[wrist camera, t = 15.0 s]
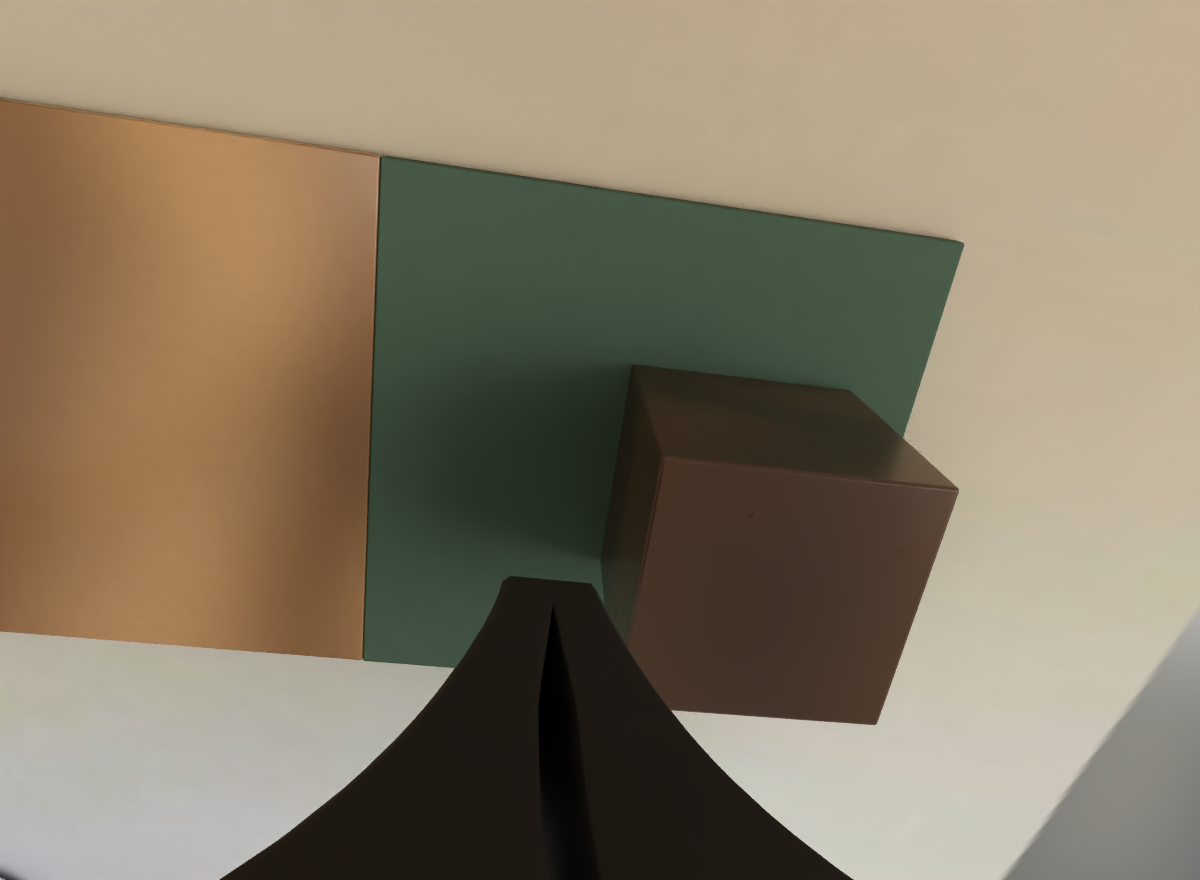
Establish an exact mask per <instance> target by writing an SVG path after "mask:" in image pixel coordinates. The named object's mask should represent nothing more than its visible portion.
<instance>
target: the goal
mask: <svg viewBox="0 0 1200 880" xmlns="http://www.w3.org/2000/svg"><path fill="white" fill-rule="evenodd" d="M963 247H964V243H962V242H959V241H955V240H949V239H942V238H935V237H929V236H922V235H915V234H908V233H902V232H895V231H888V230H881V229H875V228H868V227H861V226H855V225H848V224H841V223H834V222H828V221H821V220H814V219H807V218H801V217H794V216H787V215H780V214H774V213H767V212H760V211H753V210H747V209H740V208H733V207H727V206H720V205H713V204H706V203H700V202H693V201H686V200H679V199H673V198H666V197H659V196H652V195H646V194H639V193H632V192H626V191H619V190H612V189H605V188H599V187H592V186H585V185H578V184H572V183H565V182H558V181H551V180H545V179H538V178H531V177H525V176H518V175H511V174H504V173H498V172H491V171H484V170H477V169H471V168H464V167H457V166H450V165H444V164H437V163H430V162H424V161H417V160H410V159H403V158H397V157H390V156H385V157H382V158H381V168H380V196H379V224H378V253H377V281H376V309H375V337H374V365H373V393H372V422H371V450H370V478H369V506H368V534H367V562H366V591H365V619H364V647H363V660H364V661H374V662H387V663H399V664H412V665H425V666H437V667H450V668H456V666H457V665H458V664H459V662H460V661H461V660H462V658H463V657H464V655H465V654H466V652H467V650H468V649H469V647H470V646H471V644H472V642H473V641H474V639H475V638H476V636H477V635H478V633H479V631H480V630H481V628H482V626H483V625H484V623H485V621H486V619H487V617H488V615H489V614H490V612H491V610H492V608H493V606H494V604H495V601H496V599H497V596H498V594H499V591H500V588H501V583H502V581H504V580H505V579H506V578H508V577H509V576H518V577H529V578H540V579H551V580H561V581H572V582H583V583H591V584H592V585H593V586H594V588H595V589H596V590H597V592H598V594H599V596H600V598H601V600H602V602H603V604H604V606H605V602H604V592H603V583H602V573H601V564H600V558H601V552H602V546H603V540H604V534H605V528H606V522H607V515H608V509H609V503H610V497H611V491H612V485H613V479H614V473H615V466H616V460H617V454H618V448H619V442H620V436H621V430H622V424H623V418H624V411H625V405H626V399H627V393H628V387H629V381H630V375H631V369H632V366H633V365H642V366H651V367H659V368H667V369H676V370H684V371H692V372H700V373H709V374H717V375H725V376H734V377H742V378H750V379H758V380H767V381H775V382H783V383H792V384H800V385H808V386H816V387H825V388H833V389H841V390H850V391H852V392H853V393H854V394H855V395H856V396H857V397H859V398H860V399H861V400H862V401H863V402H864V403H865V404H866V405H867V406H868V407H870V408H871V409H872V410H873V411H874V412H875V413H876V414H877V415H878V416H879V417H880V418H882V419H883V420H884V421H885V422H886V423H887V424H888V425H889V426H890V427H891V428H893V429H894V430H895V431H896V432H897V433H898V434H899V435H900V436H901V437H902V438H903V436H904V433H905V430H906V427H907V423H908V420H909V417H910V414H911V411H912V408H913V404H914V401H915V398H916V395H917V392H918V389H919V386H920V382H921V379H922V376H923V373H924V370H925V367H926V364H927V360H928V357H929V354H930V351H931V348H932V345H933V341H934V338H935V335H936V332H937V329H938V326H939V323H940V319H941V316H942V313H943V310H944V307H945V304H946V301H947V297H948V294H949V291H950V288H951V285H952V282H953V278H954V275H955V272H956V269H957V266H958V263H959V260H960V256H961V253H962V250H963Z"/></svg>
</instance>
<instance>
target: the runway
mask: <svg viewBox="0 0 1200 880" xmlns="http://www.w3.org/2000/svg"><path fill="white" fill-rule="evenodd" d="M382 157H383V155H381V154H375V153H368V152H361V151H354V150H348V149H341V148H334V147H327V146H321V145H314V144H307V143H301V142H294V141H287V140H280V139H274V138H267V137H260V136H253V135H247V134H240V133H233V132H227V131H220V130H213V129H206V128H200V127H193V126H186V125H179V124H173V123H166V122H159V121H152V120H146V119H139V118H132V117H126V116H119V115H112V114H105V113H99V112H92V111H85V110H78V109H72V108H65V107H58V106H52V105H45V104H38V103H31V102H25V101H18V100H11V99H4V98H0V631H3V632H16V633H28V634H41V635H53V636H66V637H79V638H91V639H104V640H116V641H129V642H141V643H154V644H166V645H179V646H192V647H204V648H217V649H229V650H242V651H254V652H267V653H279V654H292V655H305V656H317V657H330V658H342V659H355V660H362V658H363V647H364V619H365V591H366V562H367V534H368V506H369V478H370V450H371V422H372V393H373V365H374V337H375V309H376V281H377V253H378V224H379V196H380V168H381V158H382Z"/></svg>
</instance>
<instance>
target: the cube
mask: <svg viewBox="0 0 1200 880" xmlns="http://www.w3.org/2000/svg"><path fill="white" fill-rule="evenodd" d="M958 493H959V489H958V488H957V487H956V486H955V485H954V484H953V483H952V482H951V481H950V480H948V479H947V478H946V477H945V476H944V475H943V474H942V473H941V472H940V471H939V470H937V469H936V468H935V467H934V466H933V465H932V464H931V463H930V462H929V461H928V460H927V459H925V458H924V457H923V456H922V455H921V454H920V453H919V452H918V451H917V450H916V449H914V448H913V447H912V446H911V445H910V444H909V443H908V442H907V441H906V440H905V439H904V438H902V437H901V436H900V435H899V434H898V433H897V432H896V431H895V430H894V429H893V428H891V427H890V426H889V425H888V424H887V423H886V422H885V421H884V420H883V419H882V418H880V417H879V416H878V415H877V414H876V413H875V412H874V411H873V410H872V409H871V408H870V407H868V406H867V405H866V404H865V403H864V402H863V401H862V400H861V399H860V398H859V397H857V396H856V395H855V394H854V393H853V392H852V391H850V390H841V389H833V388H825V387H816V386H808V385H800V384H792V383H783V382H775V381H767V380H758V379H750V378H742V377H734V376H725V375H717V374H709V373H700V372H692V371H684V370H676V369H667V368H659V367H651V366H642V365H633V366H632V369H631V375H630V381H629V387H628V393H627V399H626V405H625V411H624V418H623V424H622V430H621V436H620V442H619V448H618V454H617V460H616V466H615V473H614V479H613V485H612V491H611V497H610V503H609V509H608V515H607V522H606V528H605V534H604V540H603V546H602V552H601V558H600V564H601V573H602V583H603V592H604V602H605V608H606V610H607V612H608V614H609V616H610V618H611V620H612V622H613V623H614V625H615V627H616V629H617V630H618V632H619V634H620V636H621V637H622V639H623V641H624V642H625V644H626V646H627V647H628V649H629V651H630V652H631V654H632V655H633V657H634V658H635V660H636V661H637V663H638V664H639V666H640V668H641V669H642V671H643V672H644V674H645V675H646V677H647V678H648V680H649V681H650V683H651V684H652V685H653V687H654V688H655V690H656V691H657V693H658V694H659V695H660V697H661V698H662V699H663V701H664V702H665V703H666V705H667V706H668V707H669V709H670V710H675V711H688V712H702V713H716V714H730V715H743V716H757V717H771V718H784V719H798V720H812V721H825V722H839V723H853V724H867V725H876V724H877V722H878V719H879V716H880V713H881V711H882V708H883V705H884V702H885V699H886V696H887V694H888V691H889V688H890V685H891V682H892V679H893V677H894V674H895V671H896V668H897V665H898V662H899V660H900V657H901V654H902V651H903V648H904V645H905V643H906V640H907V637H908V634H909V631H910V628H911V626H912V623H913V620H914V617H915V614H916V612H917V609H918V606H919V603H920V600H921V597H922V595H923V592H924V589H925V586H926V583H927V580H928V578H929V575H930V572H931V569H932V566H933V563H934V561H935V558H936V555H937V552H938V549H939V546H940V544H941V541H942V538H943V535H944V532H945V529H946V527H947V524H948V521H949V518H950V515H951V512H952V510H953V507H954V504H955V501H956V498H957V495H958Z"/></svg>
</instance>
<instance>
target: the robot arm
mask: <svg viewBox="0 0 1200 880" xmlns="http://www.w3.org/2000/svg"><path fill="white" fill-rule="evenodd" d="M0 880H5V879H3V878H0ZM220 880H853V879H852V878H850V877H849V876H847V875H846V874H844V873H843V872H842V871H840V870H839V869H838V868H836V867H835V866H833V865H832V864H831V863H830V862H828V861H827V860H826V859H824V858H823V857H822V856H821V855H819V854H818V853H817V852H815V851H814V850H813V849H812V848H810V847H809V846H808V845H806V844H805V843H804V842H803V841H801V840H800V839H799V838H798V837H796V836H795V835H794V834H793V833H791V832H790V831H789V830H788V829H787V828H785V827H784V826H783V825H782V824H781V823H779V822H778V821H777V820H776V819H775V818H774V817H772V816H771V815H770V814H769V813H768V812H767V811H765V810H764V809H763V808H762V807H761V806H760V805H759V804H758V803H757V802H756V801H755V800H754V799H752V798H751V797H750V796H749V795H748V794H747V793H746V792H745V791H744V790H743V789H742V788H741V787H740V786H738V785H737V784H736V783H735V782H734V781H733V780H732V779H731V778H730V777H729V776H728V775H727V774H726V773H725V772H724V771H723V770H722V769H721V768H720V767H719V766H718V765H717V764H716V763H715V762H714V761H713V760H712V759H711V757H710V756H709V755H708V754H707V753H706V752H705V751H704V750H703V749H702V747H701V746H700V745H699V744H698V743H697V742H696V741H695V740H694V739H693V737H692V736H691V735H690V734H689V733H688V731H687V730H686V729H685V728H684V727H683V725H682V724H681V723H680V722H679V720H678V719H677V718H676V717H675V715H674V714H673V713H672V711H671V710H670V709H669V707H668V706H667V705H666V703H665V702H664V701H663V699H662V698H661V697H660V695H659V694H658V693H657V691H656V690H655V688H654V687H653V685H652V684H651V683H650V681H649V680H648V678H647V677H646V675H645V674H644V672H643V671H642V669H641V668H640V666H639V664H638V663H637V661H636V660H635V658H634V657H633V655H632V654H631V652H630V651H629V649H628V647H627V646H626V644H625V642H624V641H623V639H622V637H621V636H620V634H619V632H618V630H617V629H616V627H615V625H614V623H613V622H612V620H611V618H610V616H609V614H608V612H607V610H606V608H605V606H604V604H603V602H602V600H601V598H600V596H599V594H598V592H597V590H596V589H595V588H594V586H593V585H592V584H591V583H583V582H572V581H561V580H551V579H540V578H529V577H518V576H509V577H508V578H506V579H505V580H504V581H502V583H501V588H500V591H499V594H498V596H497V599H496V601H495V604H494V606H493V608H492V610H491V612H490V614H489V615H488V617H487V619H486V621H485V623H484V625H483V626H482V628H481V630H480V631H479V633H478V635H477V636H476V638H475V639H474V641H473V642H472V644H471V646H470V647H469V649H468V650H467V652H466V654H465V655H464V657H463V658H462V660H461V661H460V662H459V664H458V665H457V666H456V668H455V669H454V670H453V672H452V673H451V674H450V676H449V677H448V678H447V680H446V681H445V682H444V684H443V685H442V686H441V688H440V689H439V690H438V692H437V693H436V694H435V696H434V697H433V698H432V699H431V700H430V702H429V703H428V704H427V705H426V706H425V708H424V709H423V710H422V711H421V712H420V713H419V714H418V716H417V717H416V718H415V719H414V720H413V721H412V722H411V723H410V724H409V726H408V727H407V728H406V729H405V730H404V731H403V732H402V733H401V734H400V735H399V736H398V737H397V738H396V739H395V741H394V742H393V743H391V744H390V745H389V746H388V747H387V748H386V749H385V750H384V751H383V752H382V753H381V754H380V755H379V756H378V757H377V758H376V759H375V760H374V761H373V762H372V763H371V764H370V765H369V766H368V767H367V768H366V769H365V770H364V771H362V772H361V773H360V774H359V775H358V776H357V777H356V778H355V779H354V780H353V781H351V782H350V783H349V784H348V785H347V786H346V787H345V788H343V789H342V790H341V791H340V792H339V793H337V794H336V795H335V796H334V797H332V798H331V799H330V800H329V801H327V802H326V803H325V804H324V805H322V806H321V807H320V808H318V809H317V810H316V811H315V812H313V813H312V814H311V815H310V816H308V817H307V818H306V819H305V820H303V821H302V822H301V823H300V824H298V825H297V826H296V827H295V828H293V829H292V830H291V831H290V832H288V833H287V834H286V835H284V836H283V837H281V838H280V839H279V840H277V841H276V842H275V843H273V844H272V845H270V846H269V847H267V848H266V849H264V850H263V851H261V852H260V853H259V854H257V855H256V856H254V857H253V858H251V859H250V860H248V861H247V862H245V863H244V864H242V865H241V866H239V867H238V868H236V869H235V870H233V871H232V872H230V873H229V874H227V875H226V876H224V877H223V878H221V879H220Z"/></svg>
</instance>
